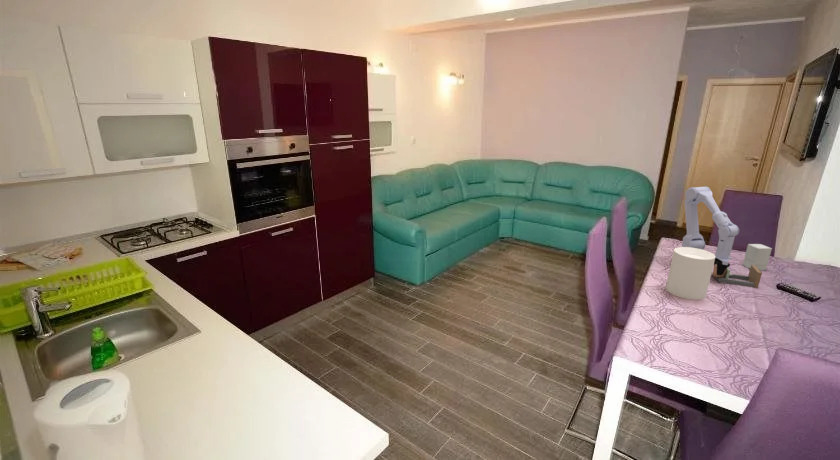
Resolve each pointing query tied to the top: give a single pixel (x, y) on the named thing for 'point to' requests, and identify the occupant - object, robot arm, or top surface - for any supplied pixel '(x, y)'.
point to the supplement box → (757, 256)
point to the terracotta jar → (716, 272)
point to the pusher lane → (745, 278)
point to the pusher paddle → (727, 273)
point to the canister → (690, 273)
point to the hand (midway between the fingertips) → (717, 272)
